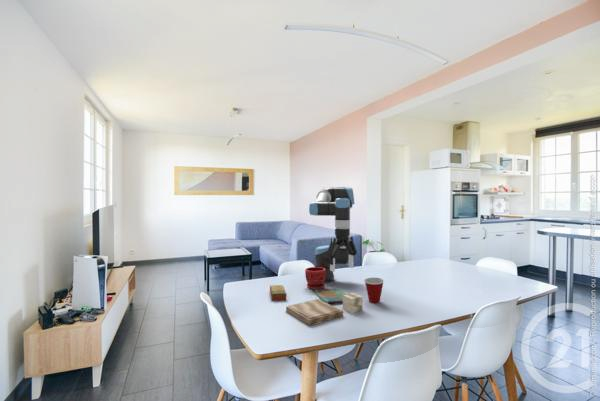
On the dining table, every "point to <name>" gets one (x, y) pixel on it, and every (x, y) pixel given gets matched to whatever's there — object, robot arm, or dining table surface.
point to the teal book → (330, 295)
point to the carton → (277, 292)
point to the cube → (352, 302)
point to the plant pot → (315, 277)
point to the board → (314, 311)
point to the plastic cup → (374, 289)
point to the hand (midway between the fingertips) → (342, 269)
